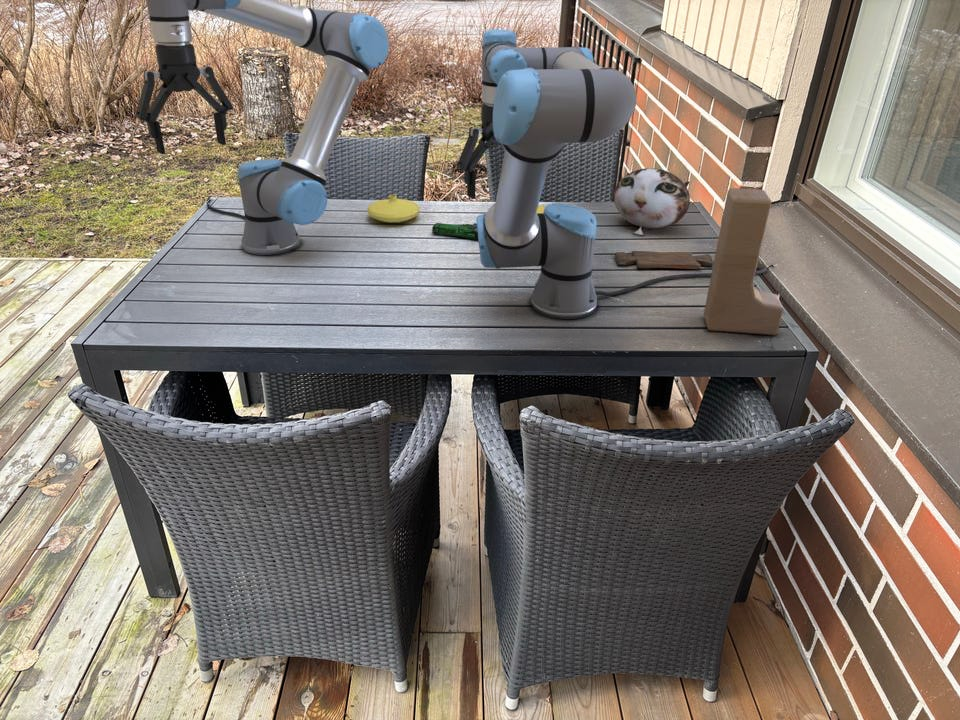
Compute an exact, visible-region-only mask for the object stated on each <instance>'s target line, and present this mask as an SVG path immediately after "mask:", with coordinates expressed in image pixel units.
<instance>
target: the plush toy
mask: <svg viewBox="0 0 960 720" xmlns="http://www.w3.org/2000/svg"><path fill="white" fill-rule="evenodd" d="M689 185H690V181H686V182H683V180H681V178H679V176H677V175H675V174H674V173H672V172H669V171H667V170H665V169H661V168H653V167H648V168H647V167H646V168H640V169H636V170H633V171H631V172H626V174H625V176H623V177H621V179H620V180H619V181H618V182H617V184H616V186H615V188H614V191H613V202H614V203H613V204H614V206H615V208H616V211H617V212H618V213H619V215H620V216H621V217H622V218H623V219H624V220H626V221H627V222H629V223H630V224H632V225H634V226H637V227H639V228H638V229H637V230H636V231H634V232H633V234H634V235H640V236H644V233H643V231H642V228H643V229H650V230H651V229H652V230H655V229H664V228H668V227H670V226H673V225H675V224H677V223H678V222H680V221H681V219H683V218H684V217H685V215H686V214H687V212H688V210H689V207H690V204H691V195H690V191H689V189H688V186H689Z"/></svg>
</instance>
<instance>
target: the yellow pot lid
mask: <svg viewBox="0 0 960 720" xmlns="http://www.w3.org/2000/svg"><path fill="white" fill-rule="evenodd" d="M366 211H367V214H368V215H369V217H371V218H372V219H375V220H377V221H380V222H383V223H391V224H392V223H393V224H394V223H402V222H407V221H409V220H411V219H413V218H415V217H417V216H418V215H419V213H420V206H419V205H418V204H417V203H416V202H415V201H411V200H408V199H403V198H398V197H397V194H389V195H388V198H387V199H380V200H376V201H374V202H371V203H370V204H369V205H368V206H367V209H366Z"/></svg>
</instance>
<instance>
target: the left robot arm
mask: <svg viewBox="0 0 960 720" xmlns="http://www.w3.org/2000/svg"><path fill="white" fill-rule="evenodd" d="M145 2H146V6H147V11H148V17H149V24H150V27H151V33H152V39H153V41H154V42H155V43H156V44H155V46H154V49H155V55H156V60H157V64H158V71H151V70H147V69H145V70H144V71H143V85H142V89H141V92H140V97H139V101H138V104H137V108H136V112H135V118H136V119H138V120H140V121H144V122H146V125H147V131H148V135H149V137H150V138H152V139H154V143H155V148H156V152H157V153H159V154H160V155H166V149H165V144H164V138H163V134H162V129H161V123H160V122H159V121H157V118H158V117H159V115H160V113H161V111H162V110H163V108H164V106H165V104H166V103H167V101H168V100H169V97H170V96H171V95H172V94H173V93H174V92H175V93H182V92H192V90H194V91H195V92H196V93H197V94H198V95H199V96H200V97H201V98H202V99H203V100H204V101H205V102H207V103H208V104H209V105H210V106H211V107H212V109H214V111H216V112H213V113H212V116H213V121H214V128H215V134H216V140H217V144H220V145H222V146H226V145H227V141H226V134H225V129H227V127H228V123H227V116H226V115H228V111H231V110H232V111H233V109H234V106H233V104H232V103H231V100H230V99H229V98H228V96H227V94H226V93H225V91H224V90H223V88H222V86H221V85H220V83H219V81H218V80H217V78H216V77H215V71H214V69H213V67H211V66H209V65H203V66H202V67H199V66H198V65H197V64H198V63H197V57H196V50H195V46H194V45H193V44H192V43H191V42H193V33H192V28H191V27H192V26H191V22H190V20H191V19H190V14H189V13H190V12H189V11H198V12H202V13H205V14H209V15H211V16H214V17H218V18H221V19H224V20H227V21H231V22H233V23H236V24H240V25H243V26H247V27H249V28H252V29H256V30H259V31H262V32H266V33H269V34H272V35H275V36H278V37H281V38H284V39H287V40H290V42H291V43H292V45H294V46H295V47H299V48H302V49H304V50H307V51H309V52H311V53H314V54H316V55H319V56H320V57H323V59H324V63H325V64H326V67H325V71H324V73H323V76H322V78H321V81H320V84H319V86H318V88H317V91H316V93H315V96H314V98H313V101H312V104H311V106H310V108H309V110H308V113H307V115H306V118H305V121H304V123H303V126H302V128H301V131H300V134H299V136H298V139H297V141H296V142H295V143H296V144H295V146H294V149H293V150H292V153H291V156H289V157H288V158H285V159H282V160H281V159H279V158H265V159H255V160H252V161H251V160H250V161H247V162H243V163H241V164H240V165H239V166H238V168H237V177H238V178H237V180H238V184H239V190H240V196H241V201H242V208H243V212H244V213H243V214H240V213H237V212H231V211H226V210H221V209H218V208H215V207H213V206H211V205H210V202H211V201H212V199H211V197H207V199H206V207H207V208H208V209H210V210H212V211H214V212H217V213H221V214H225V215H231V216H236V217H239V218H241V219H245V220H244V226H243V228H244V229H243V235H242V237H241V246H242V249H243V251H244V252H246V253H248V254H252V255H255V256H256V255H257V256H275V255H281V254H282V255H283V254H285V253H289V252H291V251H293V250H296V249H297V248H298V247H299V246H300V244H301V241H300V235H299V233H298V231H297V229H296V227H295V225H298V226H308V225H310V224H312V223H314V222H316V221H318V220H319V219H320V218H321V217H322V215H323V214H324V213H325V211H326V208H327V205H328V197H327V189H325V186H326V183H327V180H328V179H327V177H326V175H325V169H326V168H327V164H328V162H329V160H330V157H331V154H332V152H333V149H334V147H335V145H336V143H337V139H338V137H339V135H340V132H341V129H342V127H343V124H344V122H345V121H346V117H347V115H348V113H349V110H350V108H351V104H352V103H353V99H354V97H355V94H356V92H357V90H358V87H359V84H360V83H363V82H366V81H368V79H369V76H370V74H371V72H372V69H376V68H378V67H380V66H382V65H383V64H384V63H385V62H386V59H387V57H388V54H389V51H390V50H389V49H390V42H389V37H388V33H387V30H386V28H385V26H384V25H383V23H382V22H381V21H380V20H379V19H377V18H376V17H375V16H372V15H368V14H366V13H363V12H362V13H354V12H344V11H339V10H338V11H337V10H324V9H318V8H317V9H316V8H311V7H308V6H307V5H306V6H305V5H299V6H297V7H295V6H293V5H290V4H288V3H287V4H286V3H284V2H282V1H278V0H146V1H145ZM200 76H202V78H204V79H205V81H206V82H207V83H208V84H209V87H210V88H211V90H212V91H213V93H214V94H215V96H216V97H217V99H218V100H216V99H215V98H214V97H213V96H212V94H210V93H209V91H207V90H206V89H205V87H204V86H203V85H202V84H201V83H200V82H199V81H198V80H199V79H200ZM158 79H160V80H161V81H162V84H161V86H160V88H159V92H157V95H156V97H155V98H154V100H153V102H152V103H151V101H152V97H153V93H154V89H155V85H156V83H158ZM219 102H220V103H219ZM150 104H151V105H150ZM209 199H210V200H209ZM208 200H209V201H208ZM207 201H208V202H207ZM208 203H209V204H208ZM294 224H295V225H294Z"/></svg>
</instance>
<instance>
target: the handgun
mask: <svg viewBox="0 0 960 720" xmlns="http://www.w3.org/2000/svg"><path fill="white" fill-rule="evenodd" d="M431 232H432V234H435V235H436V234H437V235H443V236H452V237H458V238H459V237H461V238H464V239H469V240H473V241H478V231H477V222H474V223H473V224H468V223H466V224H465V223H463V224H458V225H457V224H449V223H448V224H447V223H442V222H436V223H434V224H433V225H432V227H431Z"/></svg>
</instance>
